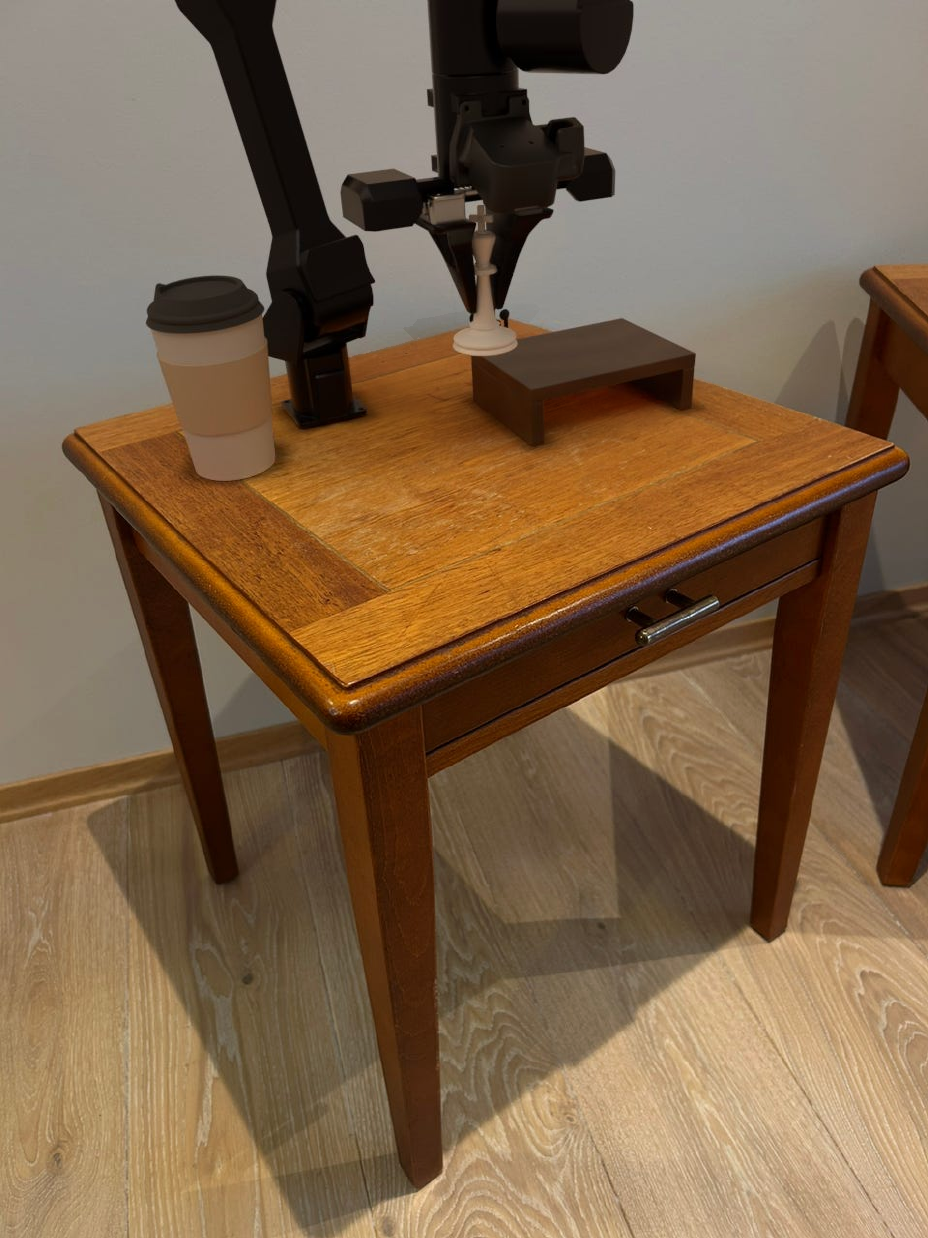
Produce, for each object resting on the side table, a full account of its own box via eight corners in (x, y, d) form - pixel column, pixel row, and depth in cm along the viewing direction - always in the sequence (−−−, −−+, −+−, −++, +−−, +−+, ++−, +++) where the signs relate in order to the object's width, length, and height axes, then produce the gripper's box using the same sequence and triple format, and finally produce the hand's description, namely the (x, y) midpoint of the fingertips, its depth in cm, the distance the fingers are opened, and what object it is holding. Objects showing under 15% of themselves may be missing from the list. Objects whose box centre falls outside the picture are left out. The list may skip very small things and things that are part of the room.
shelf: (473, 400, 91) (470, 348, 88) (620, 368, 95) (622, 317, 93) (531, 446, 81) (531, 389, 78) (691, 408, 86) (696, 353, 83)
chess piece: (511, 357, 71) (508, 213, 66) (446, 355, 72) (438, 213, 67) (522, 335, 75) (521, 198, 70) (461, 333, 76) (454, 197, 71)
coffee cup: (288, 435, 86) (259, 261, 78) (290, 478, 79) (258, 291, 70) (185, 447, 85) (144, 272, 77) (177, 492, 78) (131, 304, 69)
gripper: (378, 96, 55) (402, 365, 63) (664, 66, 60) (650, 318, 69) (325, 81, 63) (353, 320, 72) (579, 56, 69) (576, 281, 77)
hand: (484, 310), depth 72 cm, fingers closed on chess piece
